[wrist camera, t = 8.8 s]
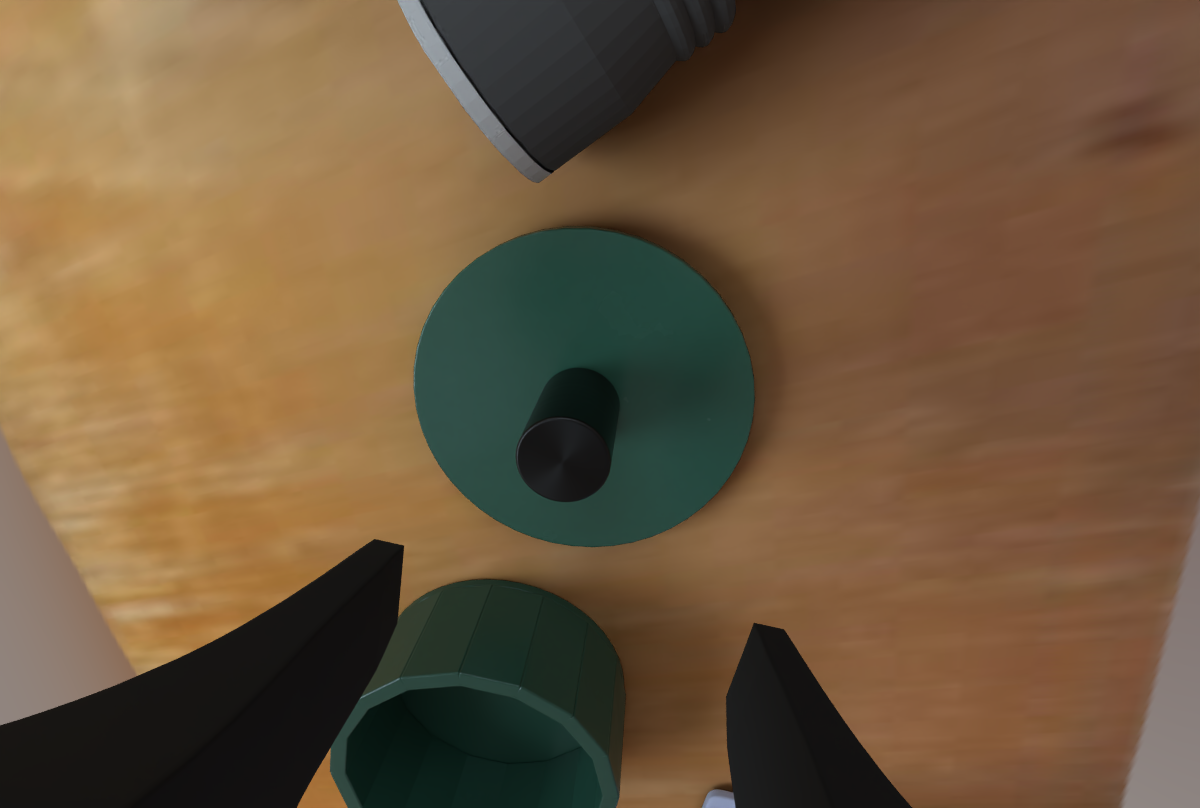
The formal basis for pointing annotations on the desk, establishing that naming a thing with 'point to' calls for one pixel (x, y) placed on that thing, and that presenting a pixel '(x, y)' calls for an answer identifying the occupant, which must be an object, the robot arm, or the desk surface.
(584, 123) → the flashlight
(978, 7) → the desk surface
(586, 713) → the pot
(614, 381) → the lid
